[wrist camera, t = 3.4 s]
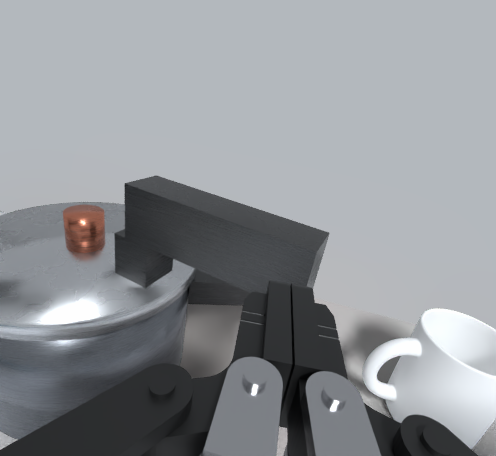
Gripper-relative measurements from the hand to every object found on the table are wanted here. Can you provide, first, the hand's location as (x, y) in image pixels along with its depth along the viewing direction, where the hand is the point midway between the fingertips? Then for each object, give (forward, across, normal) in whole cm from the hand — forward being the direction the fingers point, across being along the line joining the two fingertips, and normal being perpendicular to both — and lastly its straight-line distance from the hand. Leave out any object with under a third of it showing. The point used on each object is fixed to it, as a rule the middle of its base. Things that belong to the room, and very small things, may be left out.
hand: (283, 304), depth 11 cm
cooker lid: (+11, +11, +9) cm, 18 cm away
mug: (+14, -16, +21) cm, 30 cm away
